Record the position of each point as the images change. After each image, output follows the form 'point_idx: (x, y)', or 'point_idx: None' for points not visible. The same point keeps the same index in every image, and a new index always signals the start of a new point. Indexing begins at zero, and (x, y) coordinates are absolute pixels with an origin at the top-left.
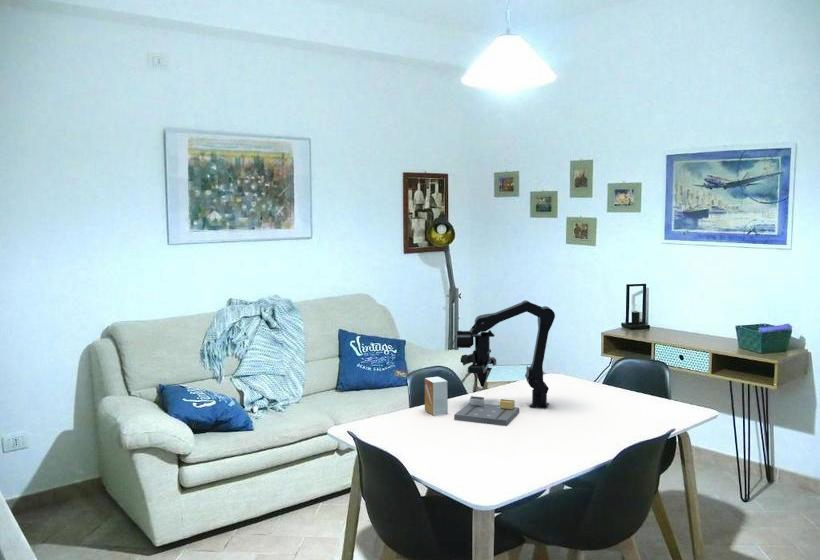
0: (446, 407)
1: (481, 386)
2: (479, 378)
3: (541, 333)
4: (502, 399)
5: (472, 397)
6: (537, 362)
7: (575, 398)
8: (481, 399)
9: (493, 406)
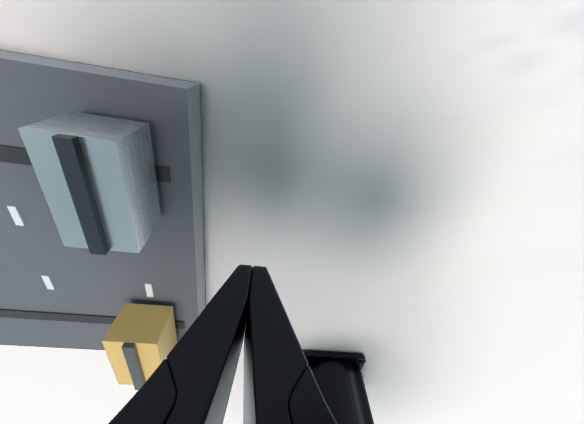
0: None
1: (240, 268)
2: (158, 379)
3: None
4: (132, 353)
5: (63, 155)
6: None
7: (425, 417)
8: (62, 241)
9: (159, 266)
